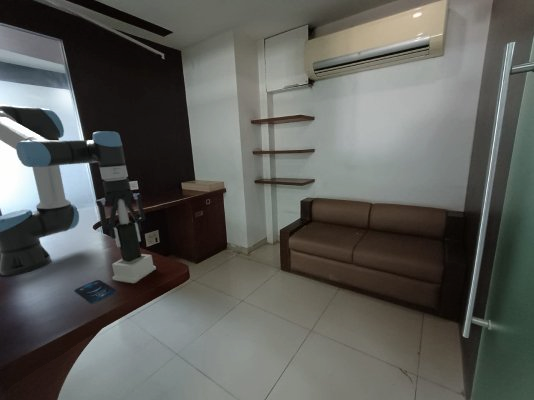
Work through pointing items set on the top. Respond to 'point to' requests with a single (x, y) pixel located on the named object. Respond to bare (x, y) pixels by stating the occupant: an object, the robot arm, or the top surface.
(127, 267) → the socket
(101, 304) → the top surface
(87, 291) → the smartphone
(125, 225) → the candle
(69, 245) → the top surface
